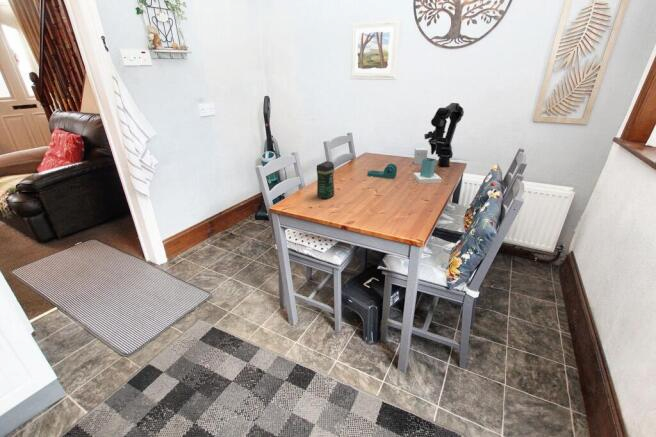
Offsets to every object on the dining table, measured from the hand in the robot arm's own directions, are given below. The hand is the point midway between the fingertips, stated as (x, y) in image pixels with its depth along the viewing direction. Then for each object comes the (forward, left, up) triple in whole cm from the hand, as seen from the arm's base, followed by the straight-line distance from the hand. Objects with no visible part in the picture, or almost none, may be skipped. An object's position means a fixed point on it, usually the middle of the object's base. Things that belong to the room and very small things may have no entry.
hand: (434, 154), depth 190 cm
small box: (0, -24, -12) cm, 27 cm away
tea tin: (+8, +12, -10) cm, 17 cm away
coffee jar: (+71, +31, -12) cm, 78 cm away
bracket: (+33, +1, -13) cm, 36 cm away
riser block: (+8, +11, -13) cm, 19 cm away
